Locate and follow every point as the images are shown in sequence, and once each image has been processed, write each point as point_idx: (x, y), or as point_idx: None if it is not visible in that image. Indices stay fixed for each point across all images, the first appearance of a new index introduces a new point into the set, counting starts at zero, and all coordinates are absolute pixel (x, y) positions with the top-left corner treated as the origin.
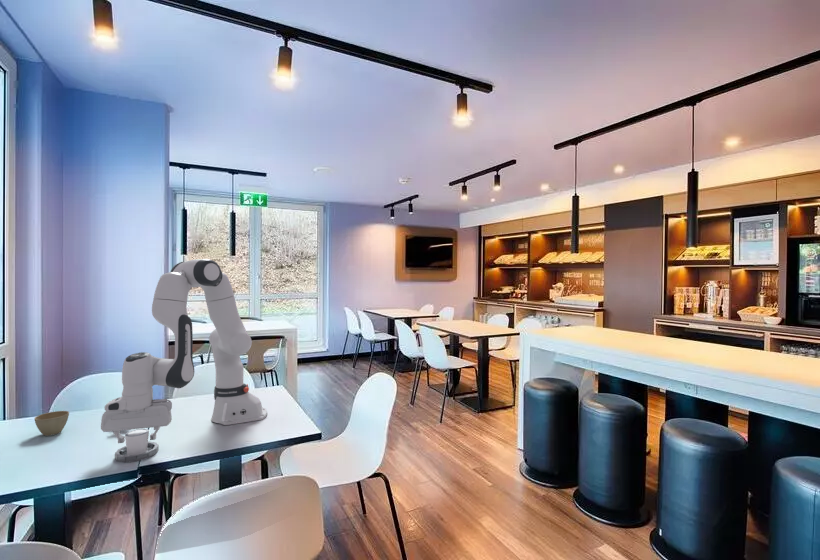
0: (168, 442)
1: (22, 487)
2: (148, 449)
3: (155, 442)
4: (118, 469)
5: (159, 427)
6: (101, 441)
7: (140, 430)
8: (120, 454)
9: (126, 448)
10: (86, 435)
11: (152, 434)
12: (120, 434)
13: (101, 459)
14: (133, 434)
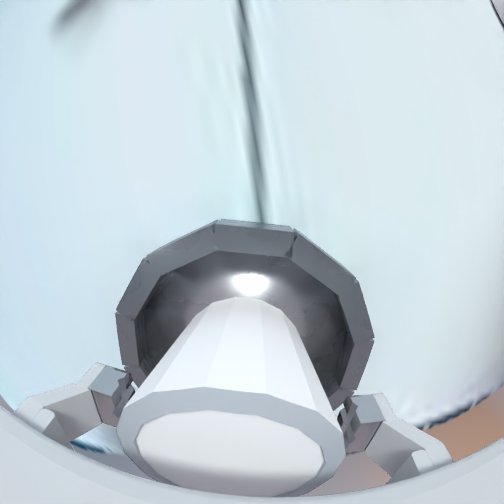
0: (413, 205)
1: (14, 402)
2: (307, 326)
3: (356, 283)
4: None
5: (435, 460)
6: (34, 66)
7: (249, 434)
8: (148, 337)
9: (155, 287)
10: (14, 17)
11: (364, 442)
12: (72, 400)
13: (79, 325)
14: (206, 482)
